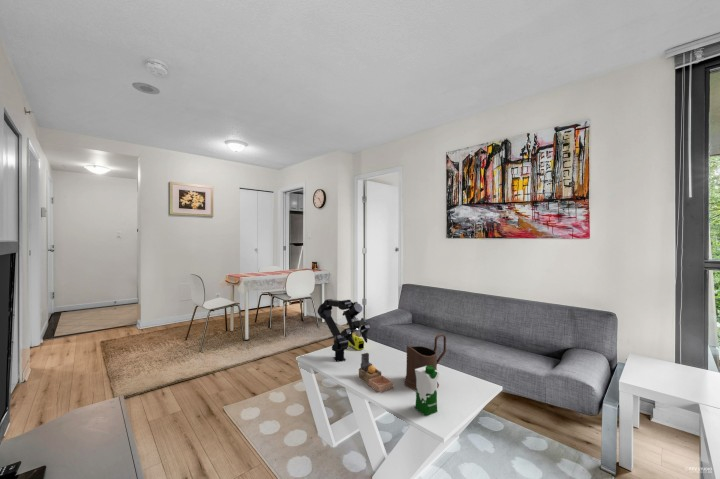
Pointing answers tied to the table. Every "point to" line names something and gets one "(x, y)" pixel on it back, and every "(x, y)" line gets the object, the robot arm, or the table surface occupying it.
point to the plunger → (365, 362)
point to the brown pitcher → (421, 361)
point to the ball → (371, 369)
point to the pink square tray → (380, 383)
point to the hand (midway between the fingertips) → (360, 344)
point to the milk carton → (426, 390)
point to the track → (368, 375)
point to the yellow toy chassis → (357, 343)
